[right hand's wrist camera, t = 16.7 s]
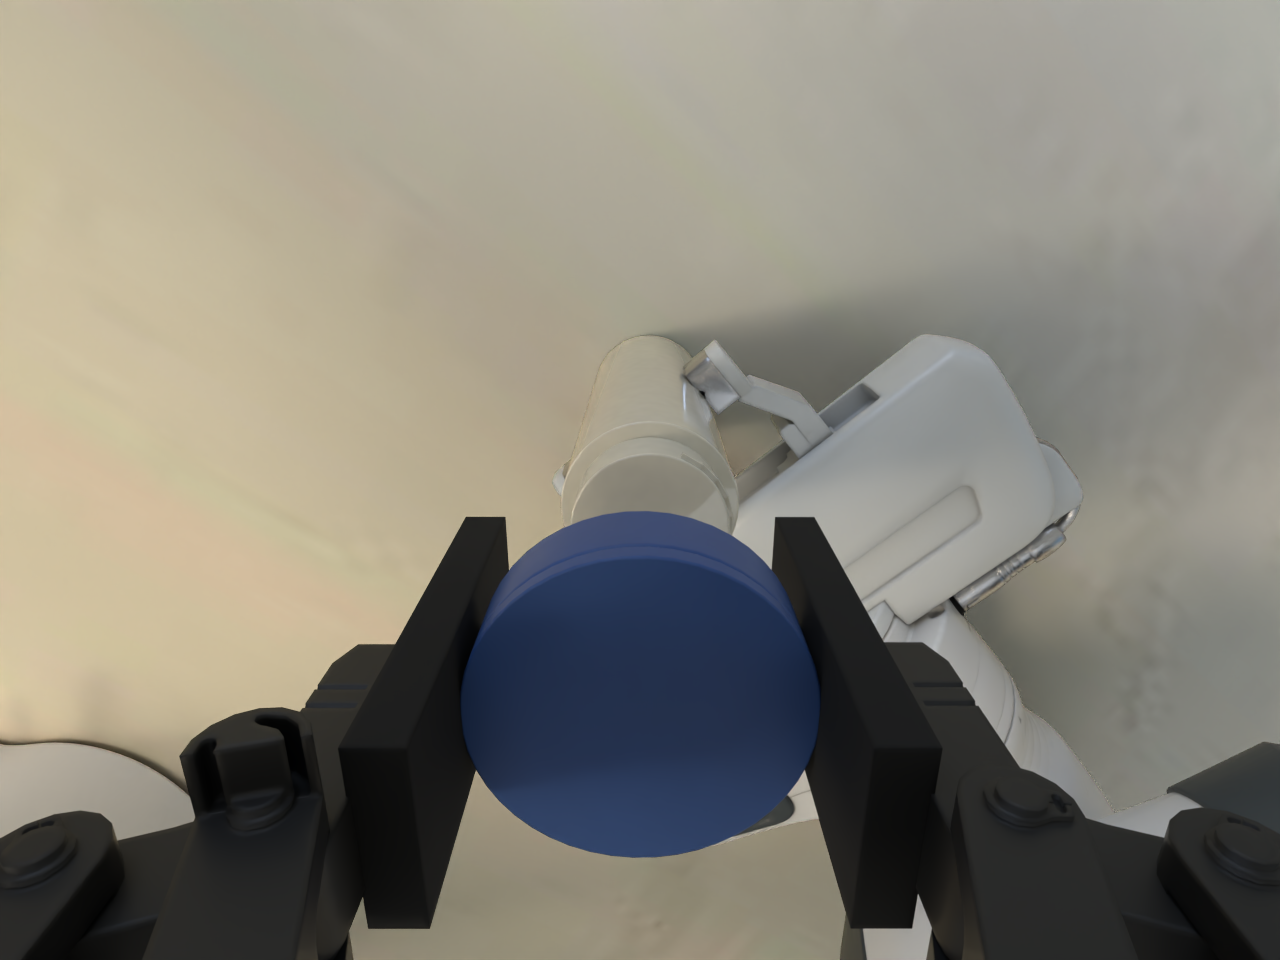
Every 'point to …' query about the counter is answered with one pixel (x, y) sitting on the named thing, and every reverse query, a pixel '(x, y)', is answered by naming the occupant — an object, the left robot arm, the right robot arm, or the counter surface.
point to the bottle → (649, 442)
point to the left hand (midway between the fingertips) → (631, 411)
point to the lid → (640, 687)
